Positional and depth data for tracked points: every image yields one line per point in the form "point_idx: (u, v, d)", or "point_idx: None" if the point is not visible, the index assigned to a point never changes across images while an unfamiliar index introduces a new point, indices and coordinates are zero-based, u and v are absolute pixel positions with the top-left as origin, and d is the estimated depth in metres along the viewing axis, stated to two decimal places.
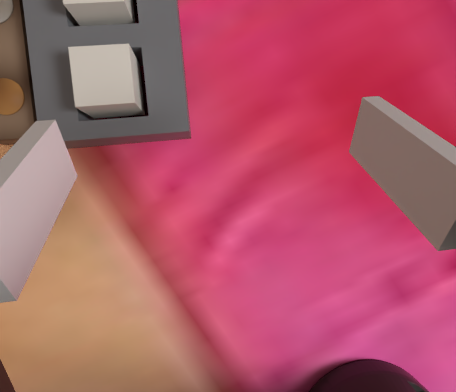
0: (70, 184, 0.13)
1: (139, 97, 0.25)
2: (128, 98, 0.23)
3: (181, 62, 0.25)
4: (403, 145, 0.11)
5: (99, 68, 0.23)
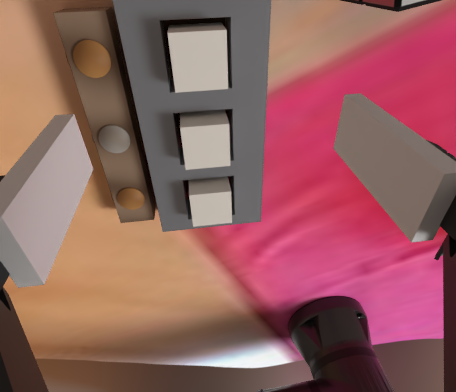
0: (87, 177, 0.13)
1: None
2: (228, 220, 0.34)
3: (261, 183, 0.34)
4: (380, 140, 0.11)
5: (210, 206, 0.33)
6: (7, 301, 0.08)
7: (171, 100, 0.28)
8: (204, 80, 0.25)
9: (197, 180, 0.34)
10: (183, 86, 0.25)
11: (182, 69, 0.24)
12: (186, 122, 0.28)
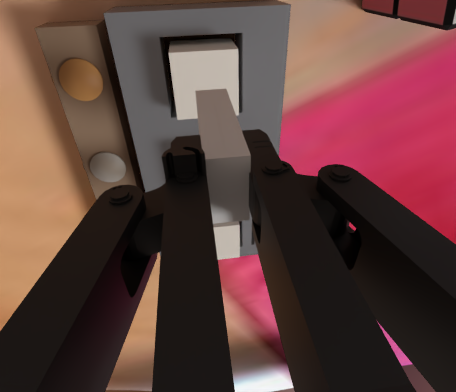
0: None
1: None
2: (235, 255, 0.31)
3: None
4: None
5: (215, 240, 0.29)
6: None
7: (172, 126, 0.24)
8: None
9: None
10: (186, 112, 0.21)
11: (186, 94, 0.21)
12: None
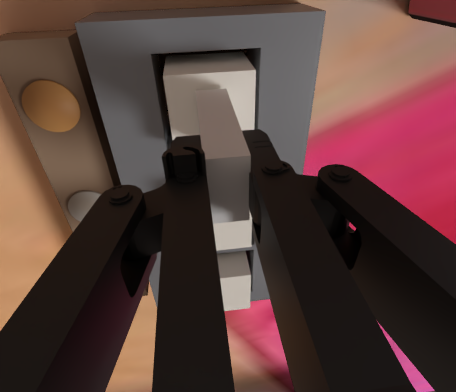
0: None
1: None
2: (244, 306, 0.26)
3: None
4: None
5: (222, 291, 0.24)
6: None
7: None
8: None
9: None
10: None
11: (187, 127, 0.16)
12: None
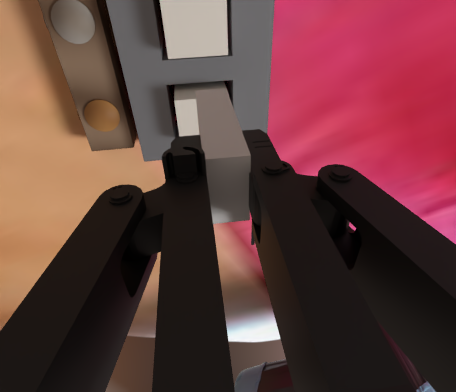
0: None
1: None
2: None
3: (268, 93, 0.27)
4: None
5: None
6: None
7: None
8: None
9: (186, 87, 0.26)
10: None
11: None
12: None
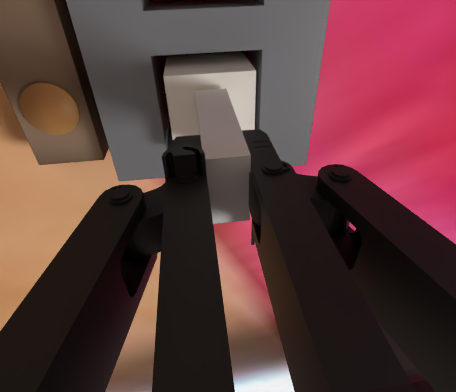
0: None
1: None
2: None
3: (317, 74, 0.17)
4: None
5: None
6: None
7: None
8: None
9: (184, 61, 0.16)
10: None
11: None
12: None
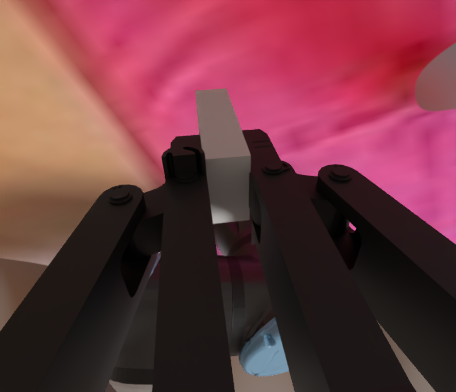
0: None
1: None
2: None
3: None
4: None
5: None
6: None
7: None
8: None
9: None
10: None
11: None
12: None
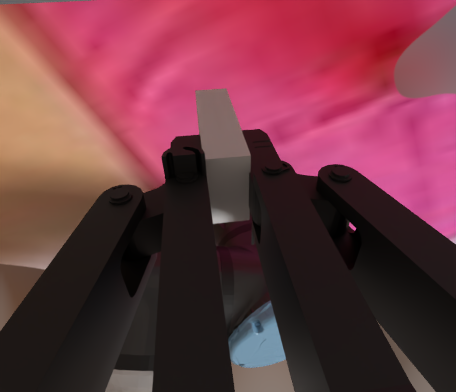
0: None
1: None
2: None
3: None
4: None
5: None
6: None
7: None
8: None
9: None
10: None
11: None
12: None
